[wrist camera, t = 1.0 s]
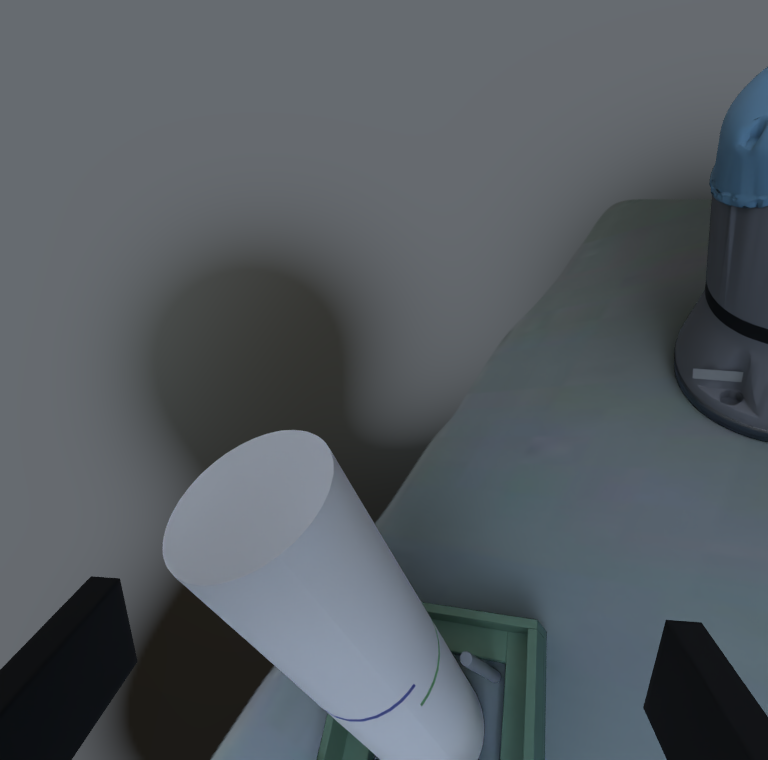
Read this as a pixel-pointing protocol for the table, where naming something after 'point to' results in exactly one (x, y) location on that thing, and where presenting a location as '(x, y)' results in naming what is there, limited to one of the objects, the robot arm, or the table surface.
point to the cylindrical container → (322, 596)
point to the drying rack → (489, 642)
